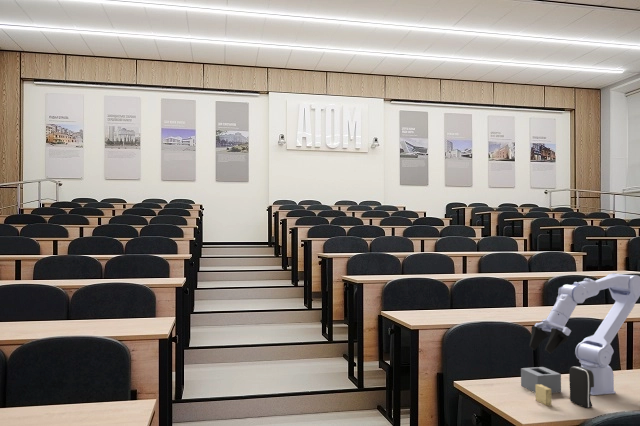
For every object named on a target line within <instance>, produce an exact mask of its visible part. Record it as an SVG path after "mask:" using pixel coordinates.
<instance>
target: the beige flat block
mask: <svg viewBox="0 0 640 426" xmlns="http://www.w3.org/2000/svg"><path fill="white" fill-rule="evenodd" d="M535 388H536V393H535V401H536V402H538V403H540V404H542V405H544V406H548V407H549V406H552V404H553V403H552V393H551V389H550V388H548V387H546V386H544V385H542V384H537V385H535Z"/></svg>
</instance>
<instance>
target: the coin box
mask: <svg viewBox="0 0 640 426" xmlns="http://www.w3.org/2000/svg"><path fill="white" fill-rule="evenodd" d="M537 384H542V385H544V386H546V387H548V388H550V389H551V394H554V393H562V375H561V373H559V372H557V371H554V370H551V369H550V368H547V367H544V366H539V367H538V366H536V367H523V368H520V385H521V386H522V387H523V388H525V389H527V390H529V391H531V392H534V393H535V394H536V388H535V385H537Z"/></svg>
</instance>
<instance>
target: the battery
mask: <svg viewBox="0 0 640 426" xmlns="http://www.w3.org/2000/svg"><path fill="white" fill-rule="evenodd" d="M568 372H569V373H568V374H569V375H568V376H569V378H568V379H569V382H568V383H569V401H570V402H572V403H574V404H577V405H578V406H581V407H582V408H583V407H584V408H592V407H593V403H592V399H591V394H590V392H591V387H594V376H593V373H592V371H591V370H589V369H586V368H583V367H581V366H571V367H570V368H569V371H568Z"/></svg>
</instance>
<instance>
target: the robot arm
mask: <svg viewBox="0 0 640 426" xmlns="http://www.w3.org/2000/svg"><path fill="white" fill-rule="evenodd" d="M606 289H608V290H609V292H610V296H611V298H612V299H613V300H614V303H613V305H612V307H611V308H610V309H609V311H608V312H607V314H606V316H605V317H604V319H603V320H602V322H601V323H600V325H599V326H598V328H597V329H596V331H595V332H594V334H592V335H589V336H587V337H585V338H583V340H582V341H581V342H578V344H577V345H576V347H575V351H574V355H575V357H576V359H577V360H579V361H578V362H579V363H580V367H583V368H586V369H589V370H591V371H592V373H593V376H594V387H591V392H590V396H599V395H611V394H612V395H613V394H617V393H616V391H615V390H614V389H615V384H614V383H615V382H614V381H615V378H614V377H615V374H614V371H613V369H612V367H611V366H610V365H609V364H610V363H611V361H612V357H613V354H614V352H615V351H614V349H613V347H612V345H611V344H612V342H613V340H614V339H615V337H616V335H617V333H618V332H619V330H620V329H621V328H622V326H623V325H624V322H625V321H626V320H627V319H628V317H629V315H630V313H631V312H632V311H633V309H634V307H635V305H636V302H637V301H638V300H639V298H640V275H637V274H636V275H635V274H633V275H632V274H621V273H614V272H613V273H608V274H607V275H606V276H604V277H601V278H599V279H596V280H594V279H591V278H589V277H588V278H587V277H585V278H583V280H582V281H578V282H577V281H574V282H573V284H568V283H567V284H563V285H562V286H560V287H558V292H557V294H558V295H557V297H556V301H555V303H554V305H553V307H552V308H551V310H550V312H549V314H548V316H547V317H546V319H543V318H542V320H541V322H535V324H534V325H532V326H531V338H530V341H529V345H528V346H529V349H532V350H533V351H536V349H537V348H538V347H539V346H540V344H541V343H542V342H543V341H544V340H545V339H547V338H548V337H549V339H548V341H547V343H546V346H545V348H544V350H545V351H546V352H547V353H548V354H552V353H553V352H554V351H555V350H557V348H559V346H561V345H562V344H564V343H566V342H568V340H569V338H567V337H568V336H570V334H571V332H572V330H571V329H570V328H569V327H567V326H566V324H567V322H568V321H569V319H570V317H571V316H572V314H573V312H574V310H575V309H576V308H577V305H578V304H583V303H584V302H585V300H587V299H588V298H591V297H595V296H597V295H598V294H599V293H600V291H602V290H606ZM546 332H549V333H550V335H548V334H547V333H546Z"/></svg>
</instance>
